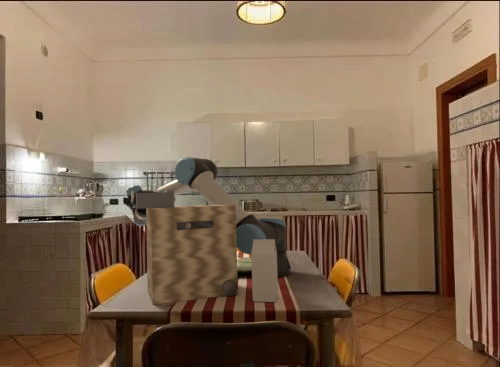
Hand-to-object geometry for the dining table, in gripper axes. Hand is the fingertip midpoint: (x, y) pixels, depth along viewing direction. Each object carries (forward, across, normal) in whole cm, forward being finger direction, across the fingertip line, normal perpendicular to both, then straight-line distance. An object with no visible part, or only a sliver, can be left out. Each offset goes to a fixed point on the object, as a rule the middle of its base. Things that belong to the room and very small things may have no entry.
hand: (149, 193), depth 154 cm
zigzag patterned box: (+16, -9, -44) cm, 48 cm away
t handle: (+16, +2, -12) cm, 19 cm away
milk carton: (+35, -29, -51) cm, 68 cm away
